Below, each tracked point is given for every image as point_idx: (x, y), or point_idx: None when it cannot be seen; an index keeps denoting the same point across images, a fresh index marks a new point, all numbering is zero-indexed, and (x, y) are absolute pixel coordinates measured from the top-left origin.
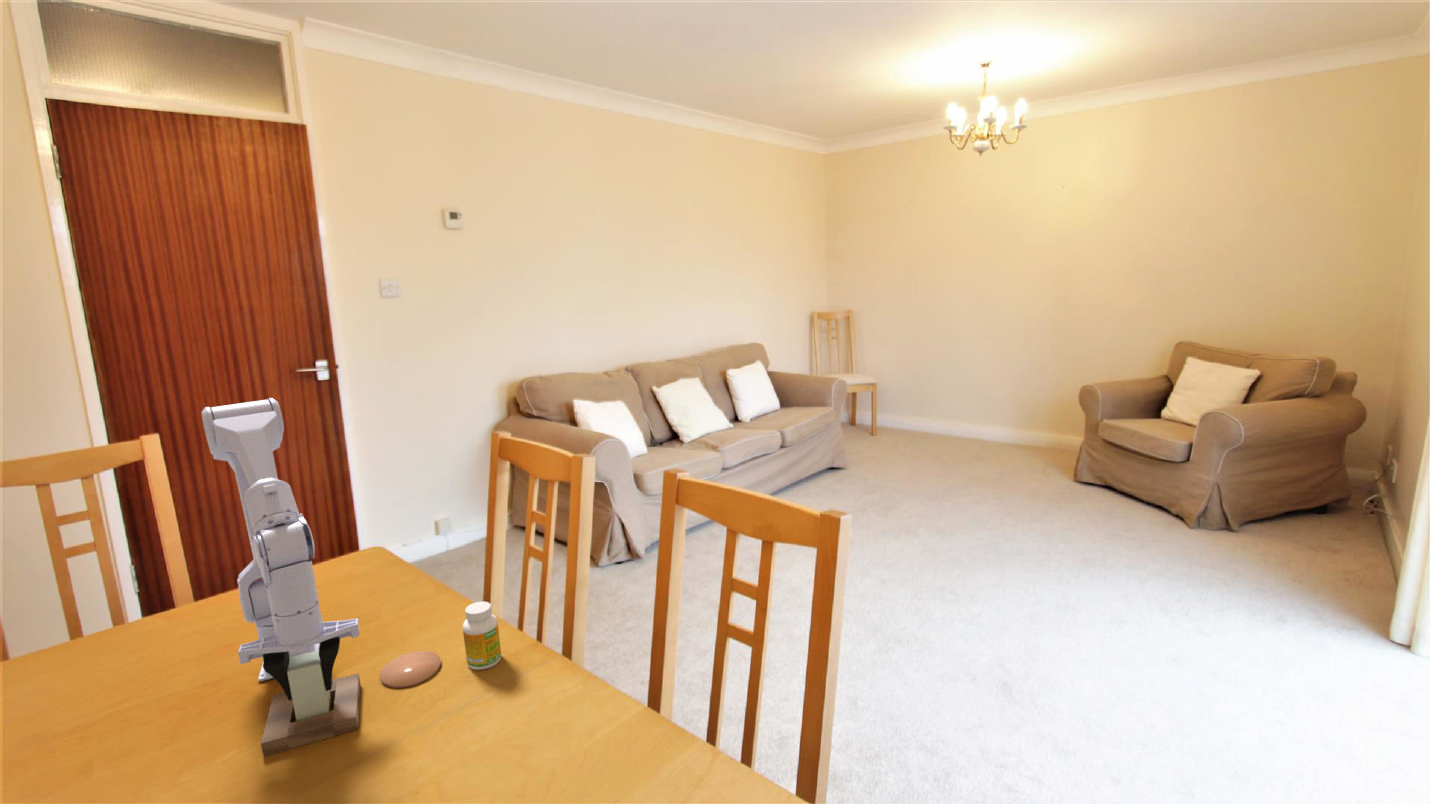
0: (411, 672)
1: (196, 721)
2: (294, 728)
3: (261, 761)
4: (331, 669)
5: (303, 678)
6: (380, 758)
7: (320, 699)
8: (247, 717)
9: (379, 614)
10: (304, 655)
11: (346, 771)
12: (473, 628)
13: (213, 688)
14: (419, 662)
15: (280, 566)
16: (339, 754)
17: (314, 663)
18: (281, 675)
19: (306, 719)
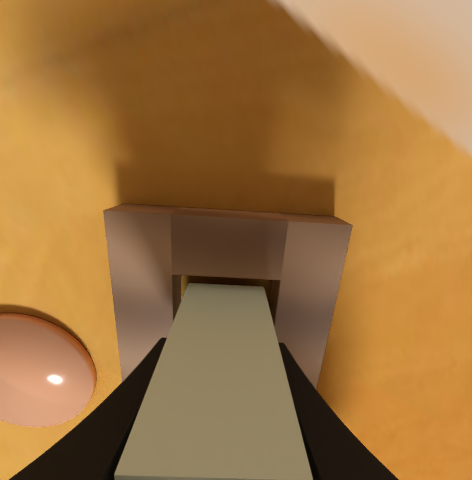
0: (13, 357)
1: (435, 402)
2: (269, 249)
3: (339, 200)
4: (96, 410)
5: (229, 401)
6: (40, 16)
7: (194, 311)
8: (353, 371)
9: None
10: None
11: (134, 10)
12: None
13: (397, 475)
14: (1, 385)
15: None
16: (161, 115)
17: None
18: (340, 462)
19: (239, 272)
